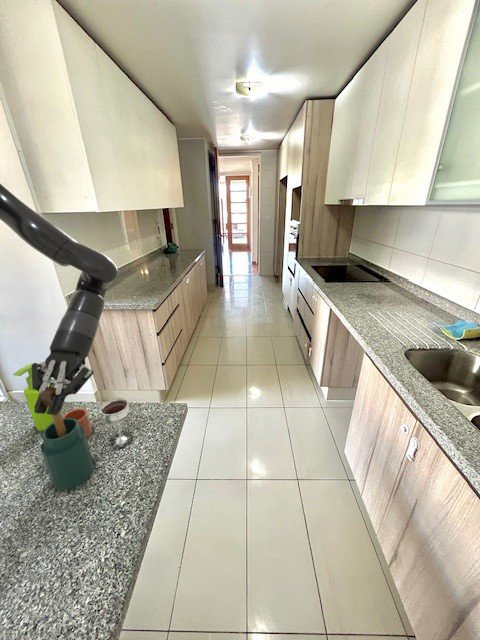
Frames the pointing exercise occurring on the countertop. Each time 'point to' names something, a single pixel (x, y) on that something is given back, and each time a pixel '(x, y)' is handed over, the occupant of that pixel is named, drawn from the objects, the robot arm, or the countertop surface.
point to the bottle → (67, 455)
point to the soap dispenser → (34, 400)
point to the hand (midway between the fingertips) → (45, 413)
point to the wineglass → (115, 414)
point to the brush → (57, 419)
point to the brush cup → (80, 419)
